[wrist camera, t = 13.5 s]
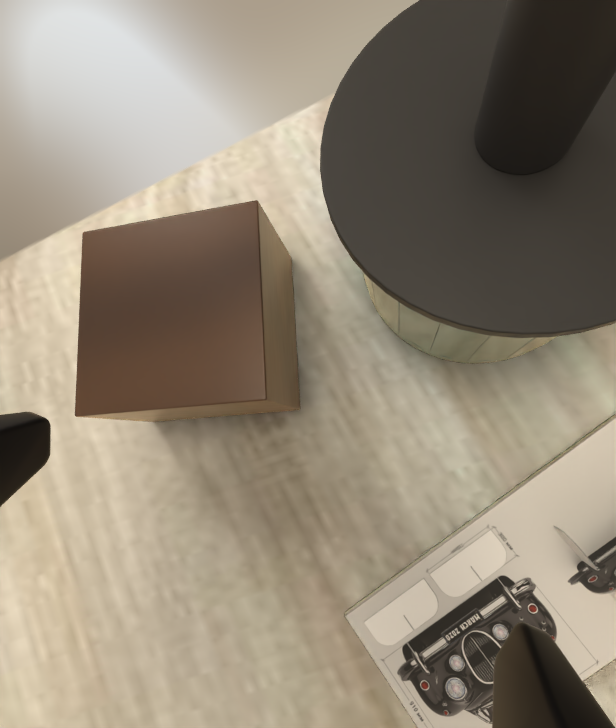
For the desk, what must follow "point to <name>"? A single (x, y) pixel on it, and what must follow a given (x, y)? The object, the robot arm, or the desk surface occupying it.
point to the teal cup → (446, 334)
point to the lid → (483, 164)
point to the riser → (187, 318)
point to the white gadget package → (503, 589)
